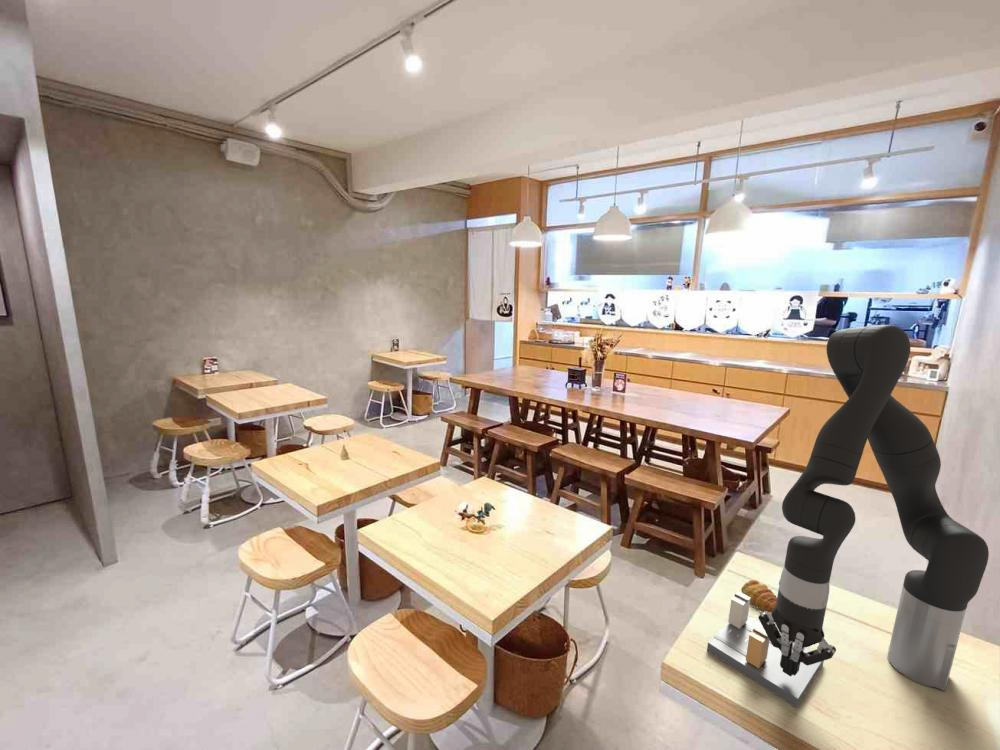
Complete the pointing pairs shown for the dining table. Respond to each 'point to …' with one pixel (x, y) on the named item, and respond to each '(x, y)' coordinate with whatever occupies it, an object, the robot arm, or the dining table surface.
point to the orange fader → (757, 647)
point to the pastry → (760, 595)
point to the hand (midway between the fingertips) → (788, 671)
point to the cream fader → (739, 609)
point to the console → (770, 675)
